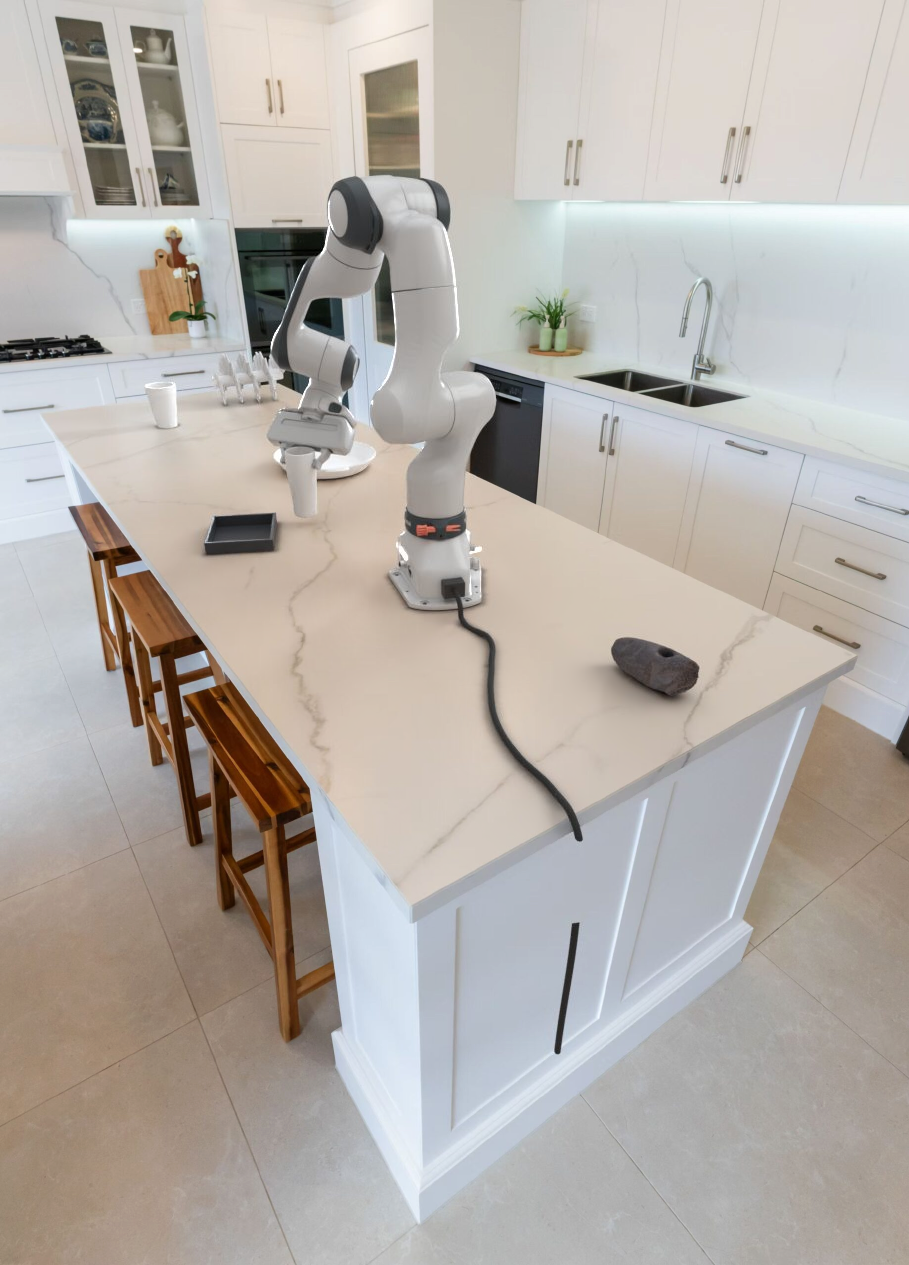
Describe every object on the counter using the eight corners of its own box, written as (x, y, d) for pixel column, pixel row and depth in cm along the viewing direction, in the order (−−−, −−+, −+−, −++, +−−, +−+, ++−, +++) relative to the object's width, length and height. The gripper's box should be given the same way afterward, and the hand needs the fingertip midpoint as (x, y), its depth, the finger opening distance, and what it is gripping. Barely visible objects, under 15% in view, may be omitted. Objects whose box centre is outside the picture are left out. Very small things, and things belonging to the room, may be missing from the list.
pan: (392, 480, 199) (391, 464, 197) (286, 492, 190) (285, 476, 188) (359, 445, 226) (358, 431, 223) (265, 455, 217) (263, 440, 214)
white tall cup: (314, 521, 167) (308, 456, 159) (286, 518, 168) (279, 454, 160) (325, 510, 173) (319, 447, 165) (297, 508, 174) (291, 445, 166)
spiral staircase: (217, 413, 272) (283, 403, 281) (222, 402, 256) (292, 391, 265) (203, 363, 269) (270, 354, 279) (208, 348, 253) (279, 340, 262)
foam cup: (153, 423, 245) (145, 382, 239) (182, 421, 248) (175, 381, 241) (152, 430, 238) (144, 389, 231) (182, 428, 240) (175, 387, 233)
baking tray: (274, 550, 159) (272, 539, 157) (206, 554, 157) (204, 543, 155) (277, 523, 172) (275, 512, 171) (214, 526, 170) (212, 515, 169)
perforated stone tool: (600, 666, 121) (605, 630, 117) (620, 655, 124) (626, 620, 120) (676, 709, 111) (684, 671, 108) (697, 696, 114) (705, 658, 110)
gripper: (272, 399, 167) (253, 453, 164) (352, 408, 160) (333, 465, 158) (285, 414, 173) (267, 467, 170) (363, 423, 166) (345, 478, 164)
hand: (299, 466), depth 164 cm, fingers closed on white tall cup, 7 cm apart
